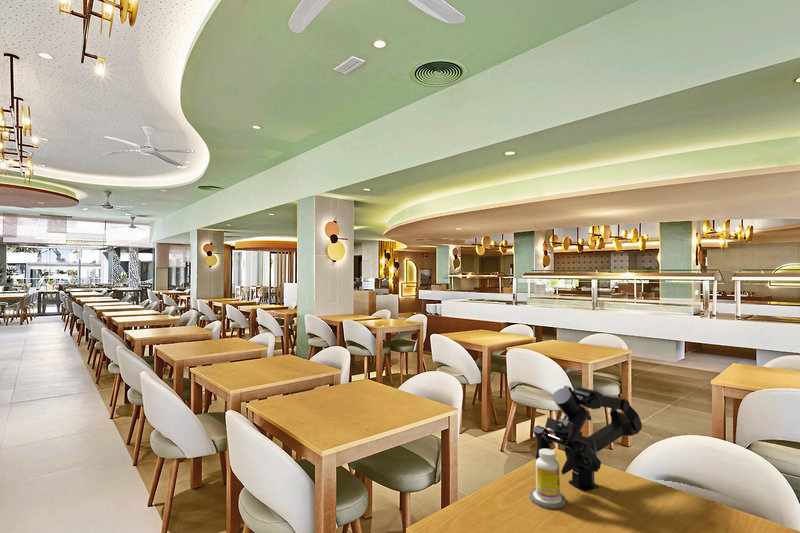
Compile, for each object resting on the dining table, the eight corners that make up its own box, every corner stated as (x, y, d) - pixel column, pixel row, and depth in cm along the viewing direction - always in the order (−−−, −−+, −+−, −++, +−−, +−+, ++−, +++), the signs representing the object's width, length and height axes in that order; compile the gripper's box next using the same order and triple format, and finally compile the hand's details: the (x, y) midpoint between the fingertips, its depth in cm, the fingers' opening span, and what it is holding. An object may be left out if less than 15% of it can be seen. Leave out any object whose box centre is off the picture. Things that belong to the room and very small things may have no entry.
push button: (546, 488, 129) (546, 484, 129) (573, 503, 120) (573, 499, 120) (522, 495, 124) (522, 492, 124) (548, 512, 115) (548, 508, 115)
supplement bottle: (561, 502, 118) (560, 457, 119) (537, 500, 120) (536, 455, 120) (557, 491, 125) (557, 448, 125) (534, 488, 126) (534, 446, 127)
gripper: (536, 399, 134) (511, 441, 128) (588, 416, 118) (563, 464, 112) (552, 420, 138) (529, 461, 132) (605, 438, 122) (581, 486, 116)
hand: (549, 467), depth 123 cm, fingers open, 9 cm apart
